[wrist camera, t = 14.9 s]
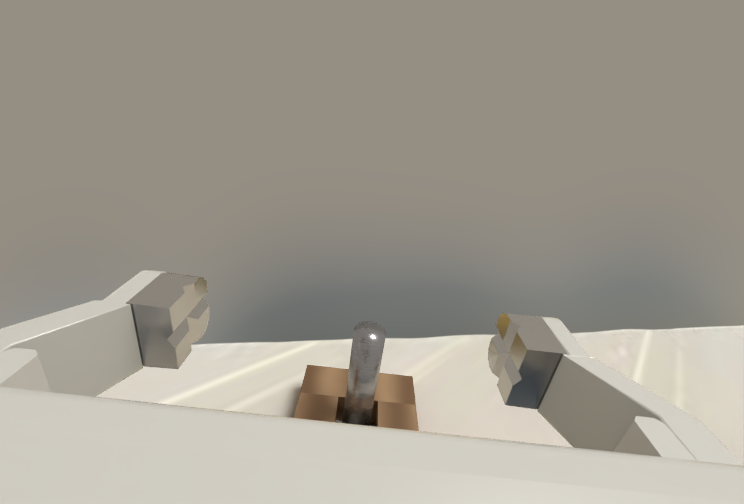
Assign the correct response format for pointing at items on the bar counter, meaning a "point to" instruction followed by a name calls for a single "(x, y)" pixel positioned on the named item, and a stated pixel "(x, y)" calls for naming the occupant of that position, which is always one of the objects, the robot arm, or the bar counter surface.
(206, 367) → the bar counter surface
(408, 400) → the hole block
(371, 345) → the pin
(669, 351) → the bar counter surface
